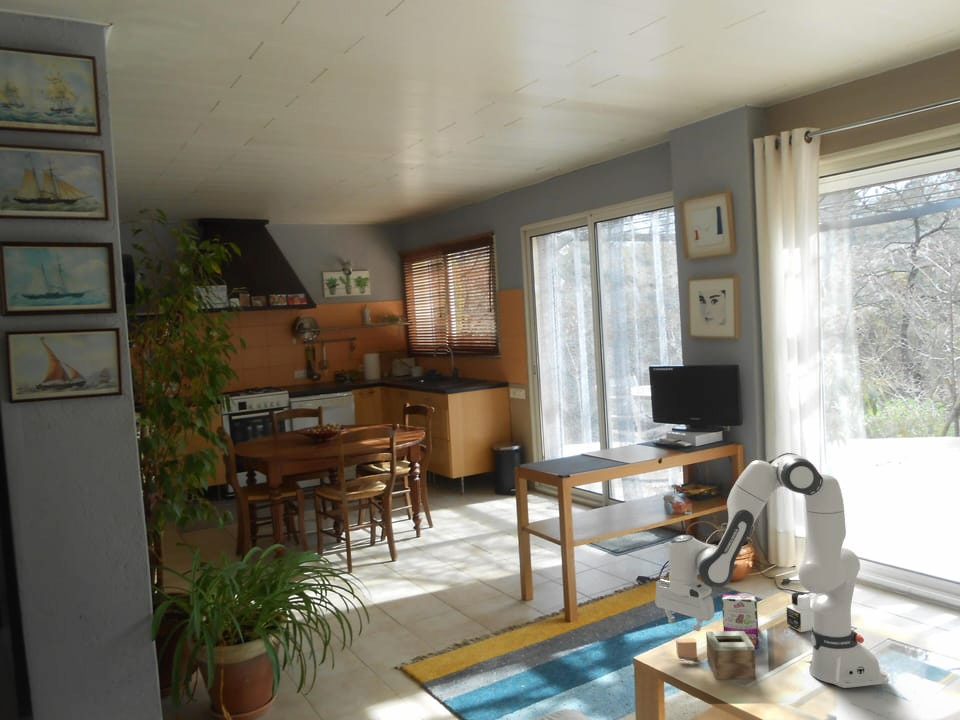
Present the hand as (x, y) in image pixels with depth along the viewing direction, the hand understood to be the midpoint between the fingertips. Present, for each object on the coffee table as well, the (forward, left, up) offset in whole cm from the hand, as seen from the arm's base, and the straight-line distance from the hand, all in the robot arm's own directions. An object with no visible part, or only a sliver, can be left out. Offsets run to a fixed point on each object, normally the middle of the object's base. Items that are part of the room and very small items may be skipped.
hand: (684, 626), depth 245 cm
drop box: (-12, +9, -11) cm, 19 cm away
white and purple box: (-25, -21, -11) cm, 34 cm away
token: (0, 0, -11) cm, 11 cm away
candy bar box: (-20, -10, -11) cm, 25 cm away
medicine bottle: (-45, -23, -11) cm, 52 cm away
